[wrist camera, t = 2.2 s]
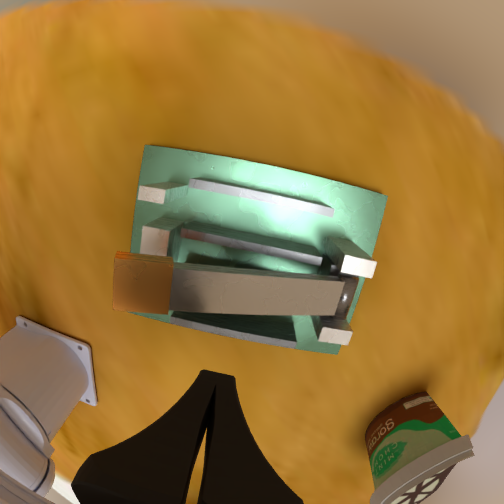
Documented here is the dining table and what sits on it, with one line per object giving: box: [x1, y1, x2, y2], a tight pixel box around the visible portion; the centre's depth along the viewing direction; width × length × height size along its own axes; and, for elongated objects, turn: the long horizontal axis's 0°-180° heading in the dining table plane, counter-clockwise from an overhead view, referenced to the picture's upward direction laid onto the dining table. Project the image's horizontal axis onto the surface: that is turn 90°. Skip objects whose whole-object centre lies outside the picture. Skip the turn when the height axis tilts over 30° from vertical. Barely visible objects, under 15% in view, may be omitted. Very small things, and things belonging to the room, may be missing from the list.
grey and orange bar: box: [113, 251, 359, 320], centre depth 14 cm, size 12×2×1 cm, turn 77°
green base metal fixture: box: [127, 145, 388, 355], centre depth 18 cm, size 16×12×6 cm
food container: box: [365, 392, 474, 504], centre depth 20 cm, size 12×6×10 cm, turn 173°
